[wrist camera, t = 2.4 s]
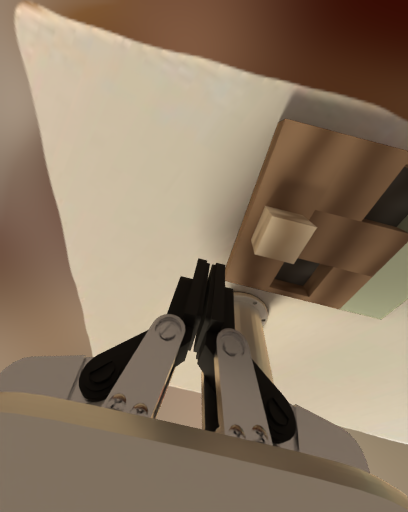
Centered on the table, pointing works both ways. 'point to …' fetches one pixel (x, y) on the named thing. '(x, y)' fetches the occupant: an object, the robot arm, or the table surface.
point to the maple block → (281, 235)
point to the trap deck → (325, 213)
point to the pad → (383, 286)
